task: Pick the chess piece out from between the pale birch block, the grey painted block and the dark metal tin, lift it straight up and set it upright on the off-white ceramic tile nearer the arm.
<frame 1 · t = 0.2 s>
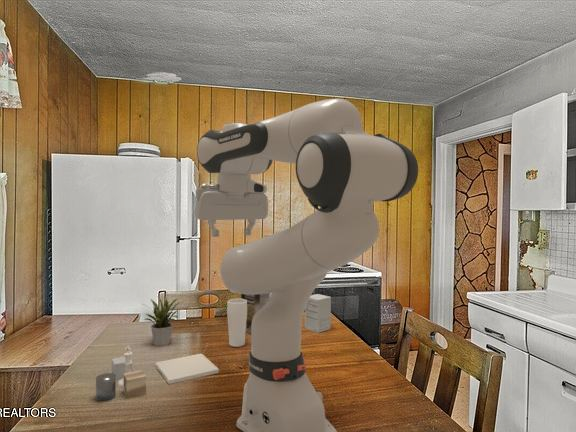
hand: (231, 235, 108), 39 cm above the table, tool pointing down, fingers open, 8 cm apart
drinking glass: (237, 345, 134), on the table
house plant: (166, 343, 135), on the table
metal tin: (105, 397, 96), on the table
supplement box: (317, 329, 152), on the table
grey block: (121, 376, 109), on the table
chess piece: (128, 384, 104), on the table
birch block: (134, 392, 99), on the table
coffee box: (254, 331, 149), on the table
ceramic tile: (186, 369, 113), on the table
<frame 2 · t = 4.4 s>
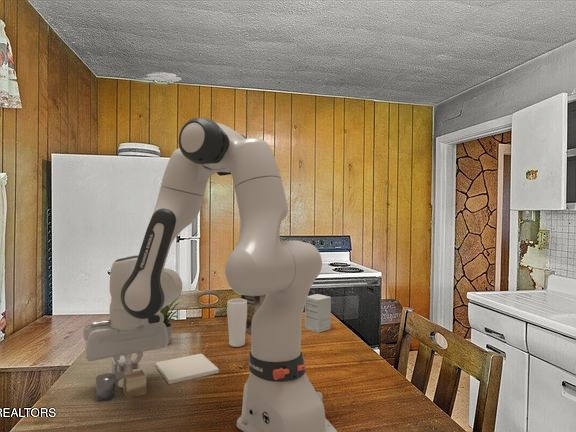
hand: (128, 369, 104), 4 cm above the table, tool pointing down, fingers closed on chess piece, 2 cm apart
chess piece: (128, 384, 104), on the table, touching gripper
everything else where it was.
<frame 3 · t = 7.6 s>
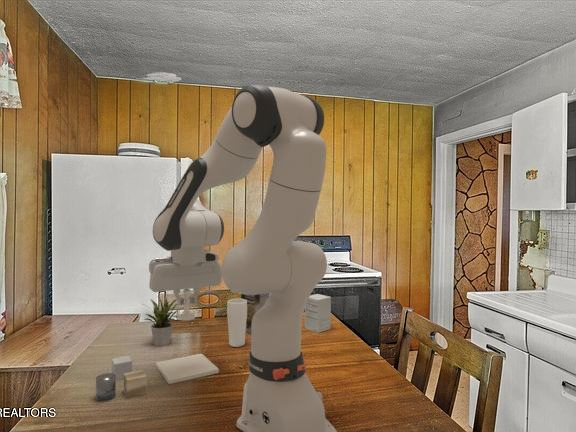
hand: (186, 304, 113), 19 cm above the table, tool pointing down, fingers closed on chess piece, 2 cm apart
chess piece: (186, 318, 113), point 15 cm above the table, touching gripper
everything else where it was.
when the fingers open (7 cm above the table, at t = 10.4 s): chess piece drops 1 cm, resting on ceramic tile.
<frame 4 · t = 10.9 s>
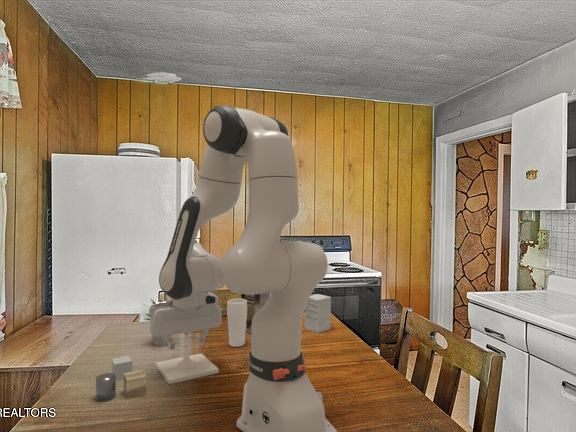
hand: (186, 346, 113), 7 cm above the table, tool pointing down, fingers open, 7 cm apart
chess piece: (186, 366, 113), point 1 cm above the table, touching ceramic tile
everything else where it was.
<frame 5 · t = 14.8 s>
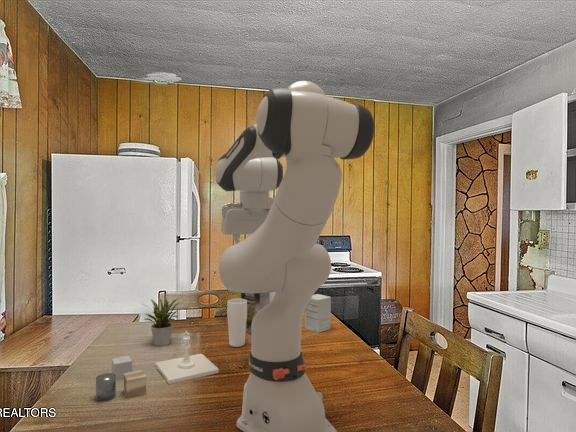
hand: (254, 249, 119), 34 cm above the table, tool pointing down, fingers open, 8 cm apart
nothing on the table moved.
at the end: chess piece inside the target area on the ceramic tile (0.1 cm from its centre), point 0.8 cm above the ceramic tile's base; chess piece tilted 0°; the gripper is holding nothing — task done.
